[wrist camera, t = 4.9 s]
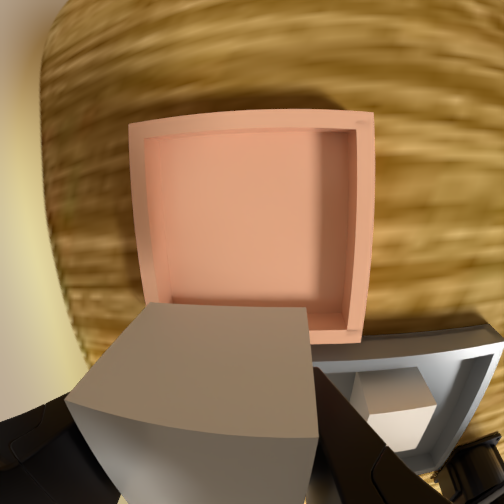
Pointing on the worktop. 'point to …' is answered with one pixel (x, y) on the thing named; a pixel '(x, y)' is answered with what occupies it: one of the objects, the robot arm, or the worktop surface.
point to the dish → (258, 212)
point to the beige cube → (394, 405)
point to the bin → (434, 373)
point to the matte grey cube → (204, 406)
